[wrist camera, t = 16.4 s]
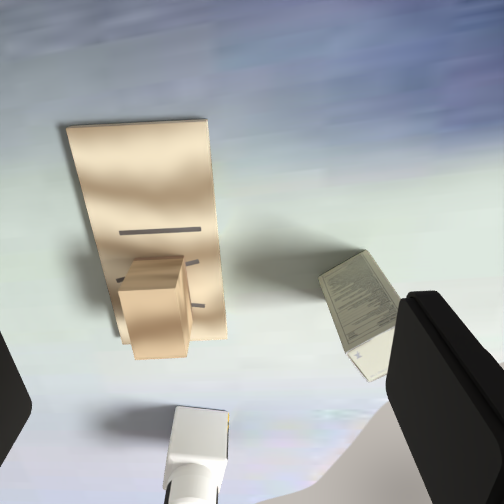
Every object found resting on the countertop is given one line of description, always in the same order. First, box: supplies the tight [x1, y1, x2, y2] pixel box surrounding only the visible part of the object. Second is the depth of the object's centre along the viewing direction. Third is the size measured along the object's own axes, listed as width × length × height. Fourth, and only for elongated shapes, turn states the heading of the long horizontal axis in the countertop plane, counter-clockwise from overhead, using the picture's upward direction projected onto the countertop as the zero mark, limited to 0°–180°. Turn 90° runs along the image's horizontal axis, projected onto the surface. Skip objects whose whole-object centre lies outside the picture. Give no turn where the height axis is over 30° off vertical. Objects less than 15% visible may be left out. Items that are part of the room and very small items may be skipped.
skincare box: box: [318, 250, 401, 383], centre depth 36 cm, size 6×4×12 cm
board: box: [66, 119, 227, 344], centre depth 39 cm, size 24×12×1 cm, turn 2°
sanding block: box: [118, 256, 193, 360], centre depth 38 cm, size 8×5×6 cm, turn 2°
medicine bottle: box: [163, 406, 229, 504], centre depth 47 cm, size 7×7×12 cm
